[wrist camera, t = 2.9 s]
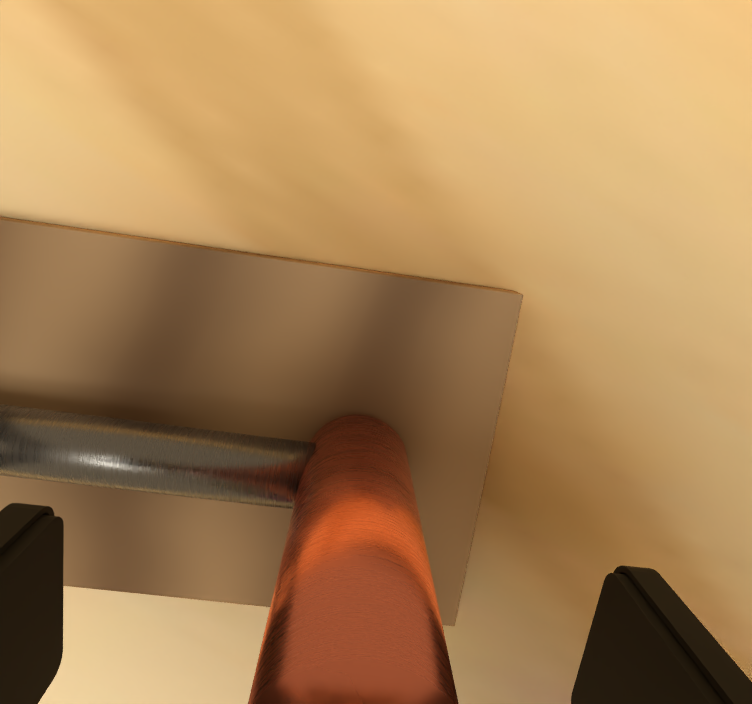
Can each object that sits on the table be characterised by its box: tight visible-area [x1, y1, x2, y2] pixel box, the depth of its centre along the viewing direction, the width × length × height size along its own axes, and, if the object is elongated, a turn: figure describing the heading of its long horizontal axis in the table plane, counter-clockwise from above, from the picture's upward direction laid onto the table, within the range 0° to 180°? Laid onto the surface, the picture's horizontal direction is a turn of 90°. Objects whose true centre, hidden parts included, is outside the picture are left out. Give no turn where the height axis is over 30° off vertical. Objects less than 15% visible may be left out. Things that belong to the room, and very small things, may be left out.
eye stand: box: [0, 217, 523, 626], centre depth 12 cm, size 20×11×11 cm, turn 82°
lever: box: [0, 404, 458, 704], centre depth 11 cm, size 17×3×9 cm, turn 82°
